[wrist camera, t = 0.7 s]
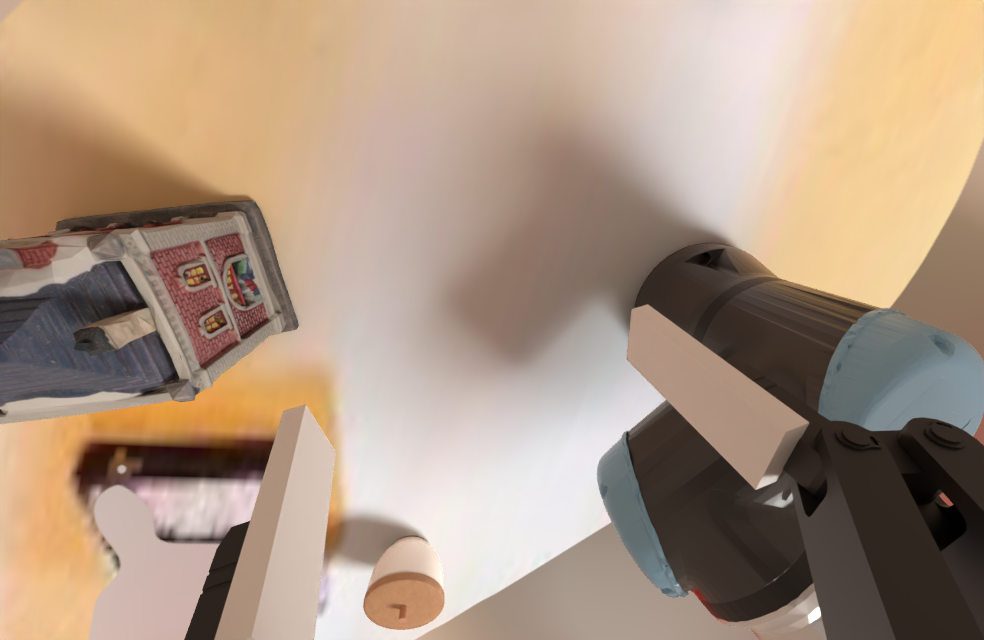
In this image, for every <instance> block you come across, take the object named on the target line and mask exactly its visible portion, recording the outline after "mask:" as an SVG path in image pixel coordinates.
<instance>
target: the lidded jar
mask: <svg viewBox="0 0 984 640" xmlns="http://www.w3.org/2000/svg"><path fill="white" fill-rule="evenodd" d="M363 607H364V611H365V614H366V615H367V617H368V618H369V619H370V620H371V621H372V622H374V623H375V624H377V625H379V626H382V627H385V628H389V629H397V630H405V629H413V628H417V627H421V626H423V625H426V624H428V623H429V622H431V621H433V620H434V619H435V618H436V617H437V616H438V615H439V614H440V613H441V611H442V609H443V607H444V576H443V568H442V564H441V561H440V558H439V556H438V554H437V552H436V551H435V550H434V549H433V548H432V547H431V546H430V544H429V543H428V542H427V541H426V540H425V539H423V538H420V537H415V536H409V537H404V538H401V539H399V540H397V541H396V542H395V543H394V544H393V545H392V546H390V547H389V548H388V549H387V550H386V551H385V552H384V553H383V554H382V555H381V557H380V558H379V560H378V561H377V563H376V565H375V567H374V570H373V572H372V575H371V578H370V581H369V585H368V589H367V592H366V595H365V598H364V604H363Z"/></svg>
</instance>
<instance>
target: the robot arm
mask: <svg viewBox="0 0 984 640" xmlns="http://www.w3.org/2000/svg"><path fill="white" fill-rule="evenodd" d="M627 360H628V361H629V362H630V363H631V364H632V365H633V366H634V367H635V368H636V369H637V370H638V371H639V372H640V373H641V374H642V375H643V376H644V377H645V378H646V379H647V380H648V381H649V382H650V383H651V384H652V386H653V387H654V388H655V389H656V390H657V391H658V392H659V393H660V394H661V395H662V396H663V397H664V398H665V399H666V400H665V401H664V402H663V403H662V404H660V405H659V406H658V407H657V408H656V409H655V410H653V411H652V412H651V413H650V414H649V415H647V416H646V417H645V418H644V419H643V420H642V421H640V422H639V423H638V424H637V425H636V426H635V427H633V428H632V429H631V430H630V431H626V432H624V434H623V435H622V438H621V439H620V440H619V441H618V442H617V443H616V444H615V445H614V446H613V447H612V448H611V449H609V450H608V451H607V452H606V453H605V454H604V455H603V456H602V458H601V459H600V461H599V464H598V468H597V480H598V486H599V490H600V494H601V497H602V499H603V502H604V505H605V508H606V510H607V513H608V515H609V517H610V519H611V521H612V523H613V525H614V527H615V529H616V531H617V533H618V535H619V537H620V539H621V540H622V542H623V544H624V545H625V547H626V549H627V550H628V552H629V554H630V555H631V557H632V558H633V559H634V561H635V562H636V564H637V565H638V567H639V568H640V569H641V571H642V572H643V573H644V574H645V576H646V577H647V578H648V579H649V580H650V582H651V583H652V584H653V585H655V587H657V588H659V589H660V590H661V591H662V593H664V594H665V595H667V596H669V597H672V598H675V597H678V596H681V597H685V596H686V595H688V590H691V591H692V592H693V593H694V594H695V595H696V596H697V597H698V599H699V600H700V601H701V602H702V603H703V605H705V607H706V608H707V609H708V611H709V612H710V613H711V614H712V615H713V616H714V617H715V618H716V619H717V620H718V621H720V622H722V623H724V624H727V625H730V626H736V627H741V628H746V629H750V630H751V631H752V632H753V633H754V634H755V635H756V637H757V638H758V639H759V640H984V446H983V445H982V444H981V443H980V442H979V441H978V440H977V439H975V438H973V436H974V434H975V432H976V430H977V428H978V427H979V425H980V422H981V420H982V416H983V414H984V362H983V360H982V358H981V357H980V355H979V354H978V352H977V351H976V350H975V349H974V348H973V347H972V346H971V345H970V344H969V343H968V342H966V341H965V340H963V339H962V338H960V337H959V336H957V335H955V334H953V333H951V332H948V331H946V330H943V329H940V328H937V327H935V326H932V325H929V324H926V323H924V322H921V321H918V320H915V319H913V318H910V317H907V316H906V315H905V314H903V313H901V312H899V311H897V310H893V309H890V308H879V307H875V306H872V305H868V304H865V303H862V302H858V301H855V300H851V299H848V298H844V297H841V296H837V295H834V294H831V293H827V292H824V291H820V290H817V289H813V288H810V287H806V286H803V285H800V284H796V283H793V282H789V281H786V280H782V279H779V278H778V277H777V276H776V275H774V274H773V273H772V272H771V271H770V270H768V269H767V268H766V267H765V266H764V265H763V264H761V263H760V262H759V261H758V260H757V259H755V258H754V257H753V256H752V255H750V254H748V253H747V252H745V251H743V250H740V249H738V248H734V247H730V246H726V245H722V244H717V243H702V244H696V245H692V246H689V247H686V248H684V249H681V250H679V251H677V252H675V253H674V254H672V255H671V256H669V257H668V258H666V259H665V260H664V261H662V262H661V263H660V264H659V265H658V266H657V267H656V268H655V269H654V270H653V271H652V272H651V274H650V275H649V276H648V278H647V279H646V281H645V282H644V284H643V286H642V288H641V290H640V292H639V294H638V297H637V300H636V305H635V308H634V309H632V311H631V321H630V331H629V340H628V350H627ZM335 453H336V451H335V450H334V448H333V447H332V445H331V443H330V442H329V440H328V439H327V437H326V436H325V434H324V432H323V431H322V429H321V428H320V426H319V425H318V423H317V422H316V420H315V418H314V417H313V415H312V414H311V412H310V411H309V409H308V407H307V406H306V405H303V406H299V407H296V408H292V409H289V410H286V411H283V414H282V417H281V421H280V424H279V427H278V431H277V434H276V437H275V441H274V444H273V447H272V450H271V454H270V457H269V460H268V464H267V467H266V470H265V474H264V477H263V480H262V484H261V487H260V490H259V494H258V497H257V500H256V503H255V507H254V510H253V513H252V517H251V520H250V521H249V522H246V523H243V524H240V525H237V526H234V527H231V529H230V530H229V532H228V533H227V535H226V536H225V538H224V539H223V541H222V542H221V544H220V545H219V547H218V548H217V550H216V553H215V556H214V559H213V562H212V564H211V567H210V570H209V575H208V576H207V578H206V581H205V584H204V587H203V589H202V590H203V593H202V594H201V595H200V598H199V600H198V603H197V606H196V609H195V612H194V614H193V618H192V620H191V623H190V626H189V628H188V631H187V634H186V637H185V640H314V635H315V626H316V617H317V609H318V600H319V591H320V583H321V574H322V565H323V557H324V548H325V539H326V531H327V522H328V513H329V505H330V496H331V487H332V479H333V470H334V462H335ZM942 493H944V494H945V495H946V496H947V497H948V498H949V499H950V501H951V502H952V503H953V504H954V505H953V506H948V505H947V504H946V503H945V502H944V501H943V500H942V499H941V498H940V497H939V496H940V495H941V494H942Z"/></svg>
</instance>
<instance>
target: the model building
mask: <svg viewBox="0 0 984 640" xmlns="http://www.w3.org/2000/svg"><path fill="white" fill-rule="evenodd" d="M298 326H299V325H298V321H297V319H296V315H295V312H294V309H293V306H292V304H291V300H290V297H289V294H288V291H287V289H286V286H285V283H284V280H283V277H282V274H281V271H280V268H279V265H278V261H277V258H276V254H275V251H274V247H273V244H272V240H271V237H270V234H269V231H268V229H267V226H266V223H265V220H264V218H263V215H262V213H261V211H260V209H259V207H258V206H257V204H256V202H255V201H231V202H218V203H208V204H199V205H189V206H179V207H169V208H162V209H154V210H145V211H134V212H122V213H114V214H106V215H96V216H88V217H80V218H72V219H67V220H63V221H59V222H57V226H56V231H54V232H49V233H48V234H47V236H39V237H32V238H24V239H8V240H1V241H0V424H5V423H13V422H22V421H32V420H41V419H50V418H58V417H65V416H73V415H80V414H88V413H95V412H102V411H108V410H115V409H122V408H128V407H135V406H142V405H149V404H155V403H160V402H166V401H172V400H174V401H179V402H185V401H193V400H195V395H197V394H198V393H199V392H201V391H202V390H204V389H205V388H209V387H212V383H213V382H214V381H215V380H216V379H217V378H218V377H219V376H220V375H221V374H222V373H224V372H225V371H226V370H228V369H229V368H230V367H232V366H233V365H234V364H236V363H237V362H238V361H239V360H240V359H241V358H243V357H244V356H246V355H247V354H249V353H250V352H251V351H253V350H254V349H255V348H256V347H257V346H258V345H259V344H260V343H262V342H263V341H264V340H265V339H266V338H267V337H268V336H269V335H274V334H279V333H282V332H287V331H291V330H296V329H297V328H298Z"/></svg>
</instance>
